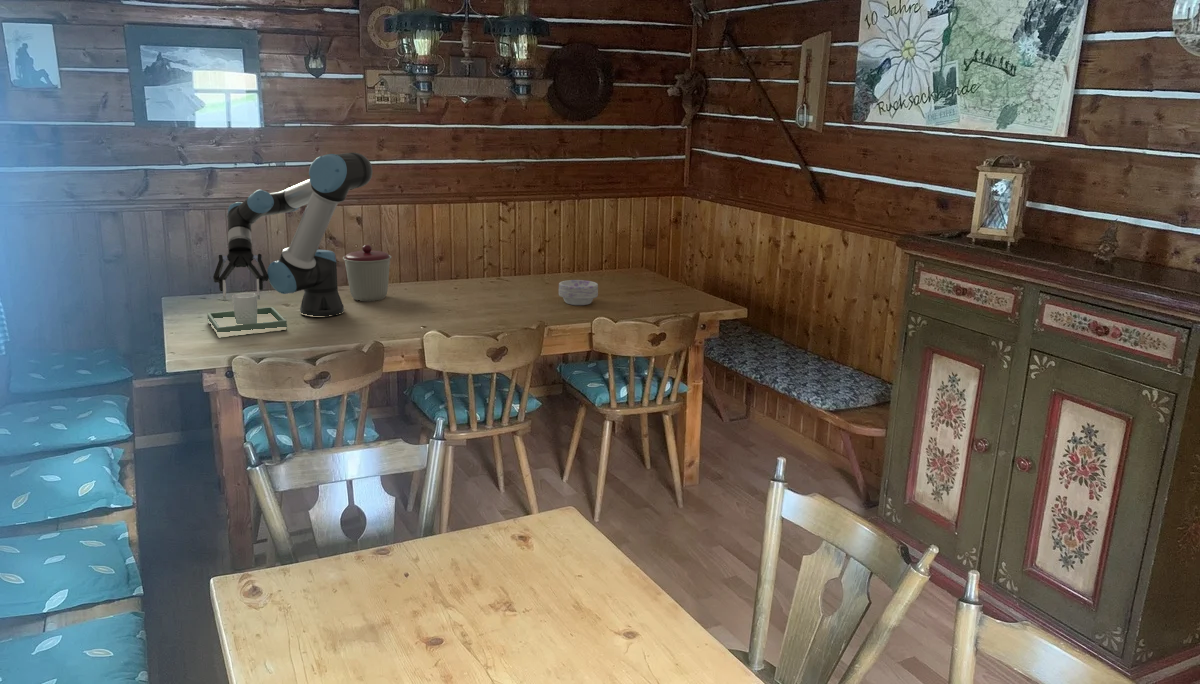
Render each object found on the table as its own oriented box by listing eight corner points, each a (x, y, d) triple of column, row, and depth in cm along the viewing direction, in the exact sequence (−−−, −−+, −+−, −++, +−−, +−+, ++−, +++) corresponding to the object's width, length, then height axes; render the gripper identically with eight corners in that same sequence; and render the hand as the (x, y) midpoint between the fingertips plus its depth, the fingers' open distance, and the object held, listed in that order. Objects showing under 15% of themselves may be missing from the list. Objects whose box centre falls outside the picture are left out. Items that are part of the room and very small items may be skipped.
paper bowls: (592, 297, 365) (592, 278, 363) (602, 306, 351) (602, 286, 349) (554, 299, 361) (554, 279, 359) (563, 308, 347) (563, 287, 345)
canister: (342, 304, 345) (338, 249, 340) (348, 293, 363) (345, 240, 357) (391, 304, 348) (388, 249, 342) (395, 293, 365) (393, 240, 359)
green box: (273, 316, 326) (272, 306, 325) (287, 330, 309) (286, 320, 308) (208, 323, 316) (207, 313, 315) (218, 338, 298) (217, 327, 297)
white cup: (229, 324, 310) (226, 295, 308) (248, 319, 317) (245, 291, 314) (245, 328, 307) (243, 298, 304) (264, 323, 313) (261, 294, 311)
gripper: (275, 248, 323) (277, 302, 313) (206, 250, 316) (206, 305, 306) (274, 236, 317) (276, 290, 307) (203, 237, 310) (203, 293, 300)
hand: (241, 297), depth 306 cm, fingers open, 10 cm apart
